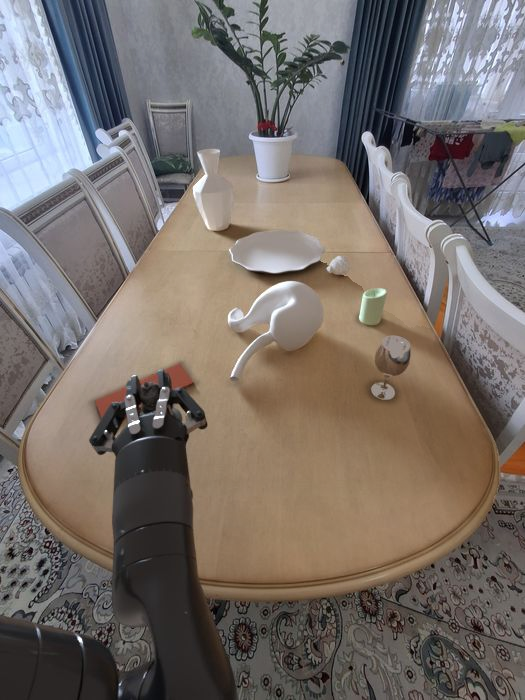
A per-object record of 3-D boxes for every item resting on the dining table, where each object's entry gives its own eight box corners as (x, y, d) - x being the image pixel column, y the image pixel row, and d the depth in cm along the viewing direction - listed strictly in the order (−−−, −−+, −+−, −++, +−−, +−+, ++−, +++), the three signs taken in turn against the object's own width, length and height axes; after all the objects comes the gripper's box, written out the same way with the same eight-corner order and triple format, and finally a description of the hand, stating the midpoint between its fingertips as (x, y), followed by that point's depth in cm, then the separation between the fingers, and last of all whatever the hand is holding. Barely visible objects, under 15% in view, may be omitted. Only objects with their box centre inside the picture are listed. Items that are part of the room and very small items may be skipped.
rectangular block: (180, 364, 75) (179, 362, 75) (193, 383, 71) (193, 382, 71) (95, 401, 68) (94, 400, 68) (104, 425, 64) (103, 424, 64)
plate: (311, 285, 97) (312, 277, 95) (215, 272, 105) (214, 265, 103) (331, 240, 117) (331, 233, 116) (249, 232, 125) (249, 226, 124)
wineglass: (397, 406, 64) (413, 358, 56) (365, 398, 66) (376, 351, 58) (399, 384, 68) (414, 337, 60) (369, 377, 70) (380, 330, 62)
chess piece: (149, 423, 54) (125, 369, 46) (187, 417, 55) (169, 362, 47) (146, 456, 50) (118, 403, 42) (187, 449, 50) (167, 395, 42)
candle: (355, 321, 84) (360, 291, 79) (364, 311, 87) (369, 282, 81) (375, 328, 82) (381, 298, 76) (383, 317, 85) (390, 288, 79)
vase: (235, 233, 125) (228, 155, 109) (196, 234, 126) (183, 158, 109) (238, 218, 136) (231, 145, 119) (202, 219, 136) (190, 147, 120)
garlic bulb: (321, 274, 101) (323, 256, 98) (338, 268, 103) (340, 251, 100) (333, 282, 98) (334, 264, 94) (350, 276, 99) (352, 259, 96)
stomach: (244, 324, 92) (222, 400, 76) (222, 284, 83) (193, 361, 67) (330, 310, 84) (326, 392, 68) (317, 264, 75) (309, 346, 59)
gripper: (216, 456, 34) (194, 345, 46) (64, 497, 32) (84, 368, 44) (225, 492, 39) (204, 383, 52) (95, 529, 37) (105, 406, 49)
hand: (148, 377), depth 48 cm, fingers closed on chess piece, 3 cm apart
